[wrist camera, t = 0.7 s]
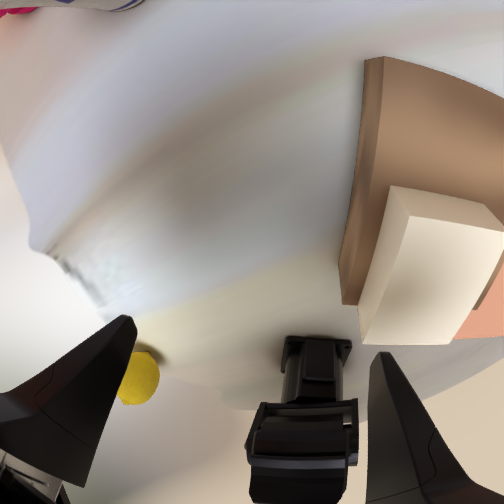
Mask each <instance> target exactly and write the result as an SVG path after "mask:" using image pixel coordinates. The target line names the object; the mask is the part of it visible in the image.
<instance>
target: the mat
mask: <svg viewBox="0 0 504 504" xmlns="http://www.w3.org/2000/svg"><path fill="white" fill-rule="evenodd" d="M496 336H504V263H503V265H502V267H501V269H500V271H499V273H498V275H497V277H496V278H495V280H494V282H493V284H492V286H491V288H490V289H489V291H488V293H487V295H486V296H485V298H484V300H483V301H482V303H481V305H480V306H479V308H478V309H477V310H471V311H470V313H469V315H468V316H467V318H466V319H465V321H464V322H463V324H462V325H461V327H460V328H459V330H458V331H457V333H456V334H455V336H454V337H453V338H452V339H465V338H483V337H496Z"/></svg>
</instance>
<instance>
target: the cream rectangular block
mask: <svg viewBox="0 0 504 504" xmlns="http://www.w3.org/2000/svg"><path fill="white" fill-rule="evenodd" d="M503 250H504V226H503V224H502V223H501V222H500V221H499V220H498V219H497V218H496V217H495V216H494V215H493V213H492V212H491V211H490V210H489V209H488V208H487V207H486V206H485V205H484V204H482V203H478V202H474V201H470V200H465V199H461V198H456V197H452V196H447V195H442V194H437V193H432V192H427V191H421V190H416V189H410V188H404V187H398V186H392V185H390V190H389V194H388V199H387V204H386V208H385V212H384V217H383V221H382V225H381V229H380V233H379V236H378V240H377V244H376V248H375V251H374V255H373V258H372V262H371V265H370V268H369V272H368V275H367V278H366V281H365V284H364V287H363V291H362V294H361V297H360V300H359V302H358V305H357V306H358V314H359V322H360V330H361V340H362V344H375V345H438V344H449V343H450V341H451V340H452V338H453V337H454V336H455V334H456V333H457V331H458V330H459V328H460V327H461V325H462V324H463V322H464V321H465V319H466V318H467V316H468V315H469V313H470V311H471V310H472V308H473V307H474V305H475V303H476V302H477V300H478V298H479V297H480V295H481V293H482V291H483V290H484V288H485V286H486V284H487V282H488V280H489V279H490V277H491V275H492V273H493V271H494V269H495V267H496V265H497V263H498V261H499V259H500V257H501V254H502V252H503Z"/></svg>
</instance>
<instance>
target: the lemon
mask: <svg viewBox="0 0 504 504" xmlns="http://www.w3.org/2000/svg"><path fill="white" fill-rule="evenodd" d="M159 378H160V373H159V368H158V365H157V363H156V362H155V360H154V359H153V358H152V357H151V355H150V353H149V352H132V354H131V357H130V361H129V364H128V367H127V370H126V373H125V375H124V377H123V380H122V382H121V385H120V387H119V390H118V392H117V396H118V397H119V398H120V399H121V400H122V403H123V404H125V405H129V404H132V405H138V404H142V403H144V402H146V401H147V400H149V398H151V396H152V395H153V394H154V392H155V390H156V388H157V386H158V383H159Z"/></svg>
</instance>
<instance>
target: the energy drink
mask: <svg viewBox="0 0 504 504" xmlns="http://www.w3.org/2000/svg"><path fill="white" fill-rule="evenodd" d="M141 1H142V0H0V9H7V8H19V7H74V8H87V9H96V10H104V11H111V12H114V11H122V10H126V9H128V8H131V7H133V6H134V5H136V4H138V3H139V2H141Z"/></svg>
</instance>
